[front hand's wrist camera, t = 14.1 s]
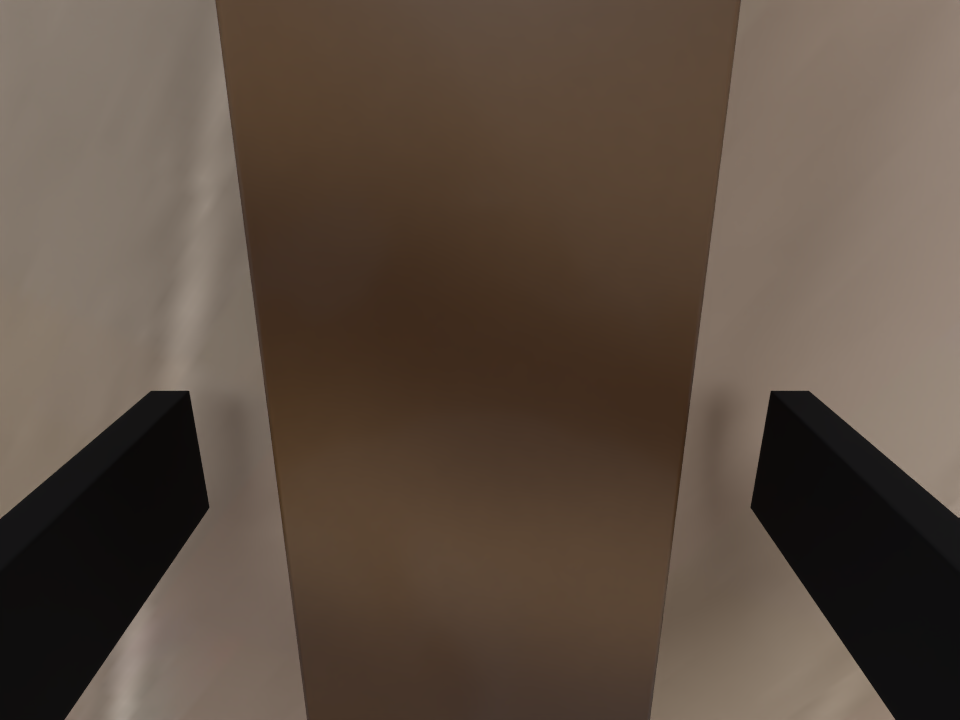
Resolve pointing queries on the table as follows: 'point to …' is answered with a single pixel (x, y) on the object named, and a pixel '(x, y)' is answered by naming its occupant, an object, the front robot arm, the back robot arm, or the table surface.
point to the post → (478, 334)
